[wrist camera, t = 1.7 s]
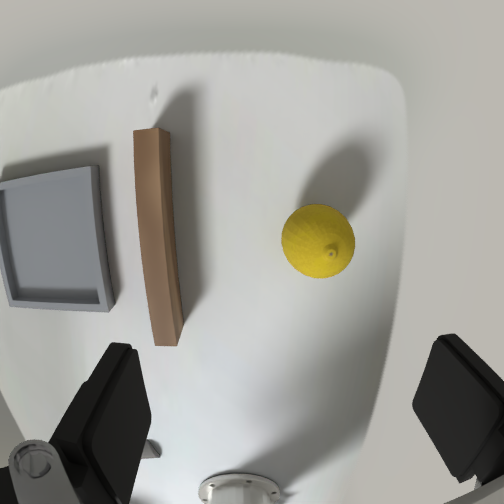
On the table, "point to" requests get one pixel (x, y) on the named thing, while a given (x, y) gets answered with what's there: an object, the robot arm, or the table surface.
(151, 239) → the walnut wall
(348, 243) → the lemon
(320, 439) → the table surface
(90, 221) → the gray tray
